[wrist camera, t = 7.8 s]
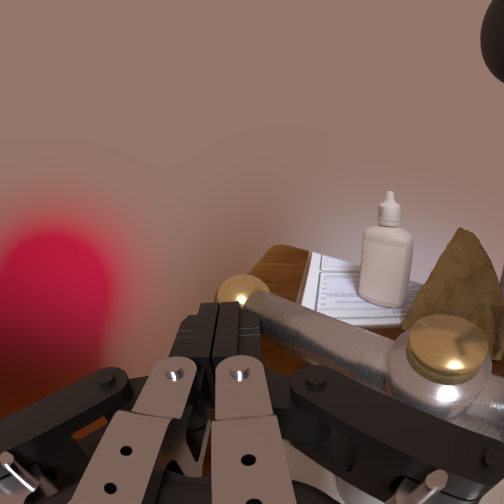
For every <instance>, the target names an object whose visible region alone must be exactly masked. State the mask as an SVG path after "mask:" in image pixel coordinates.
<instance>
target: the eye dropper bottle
mask: <svg viewBox="0 0 504 504" xmlns="http://www.w3.org/2000/svg"><path fill="white" fill-rule="evenodd" d="M400 217H401V206H400V205H398V204H397V203H396V202H395V199H394V193H393V192H392V191H387V193H386V198H385V201H384V202H383V203H381V204H379V206H378V223H379V225H376V226H372V227H370V228H368V229H367V230H366V231H365V232H364V234H363V241H362V255H361V268H360V280H359V292H358V293H359V296H360V297H361V298H363V299H364V300H366V301H368V302H370V303H373V304H376V305H379V306H383V307H389V308H399V307H400V306H401V305H402V304H403V303H404V302H405V300H406V296H407V290H408V284H409V278H410V271H411V263H412V254H413V237H412V236H411V234H410V233H408V232H407V231H406V230H404V229H402V228H400V227H399V225H400V219H401V218H400Z"/></svg>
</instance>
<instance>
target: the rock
mask: <svg viewBox="0 0 504 504" xmlns="http://www.w3.org/2000/svg"><path fill="white" fill-rule="evenodd" d="M436 314H445V315H452V316H457V317H460V318H463V319H465V320H468V321H470V322H471V323H473V324H475V325H476V326H477V327H478V328H480V329H481V330H482V332H483V333H484V334H485V336H486V338H487V340H488V352H489V354H490V356H491V359H492V360H498V361H500V360H501V359H502V356H503V354H504V296H503V292H502V289H501V286H500V284H499V281H498V278H497V275H496V273H495V270H494V267H493V265H492V262H491V260H490V258H489V257H488V255H487V253H486V251H485V250H484V248H483V247H482V245H481V244H480V241H479V239H478V238H477V237H476V236H475V235H474V234H473V233H472V232H470V231H468V230H464V229H463V228H458V229H457V231H456V233H455V235H454V237H453V238H452V240H451V241H450V242H449V244H448V245H447V247H446V249H445V251H444V252H443V253H442V254H441V256H440V258H439V260H438V261H437V264H436V265H435V267H434V269H433V271H432V272H431V274H430V276H429V278H428V280H427V281H426V282H425V284H424V286H423V287H422V288H421V289H420V290H419V292H418V294H417V296H416V298H415V300H414V303H413V305H412V307H411V309H410V310H409V312H408V313H407V315H406V319H405V320H404V322H403V323H402V325H401V329H402V330H404V331H406V330H408V329H410V328H412V326H413V325H414V323H415V322H416V321H418V320H419V319H421V318H423V317H426V316H430V315H436Z"/></svg>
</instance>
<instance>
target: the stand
mask: <svg viewBox="0 0 504 504" xmlns="http://www.w3.org/2000/svg"><path fill="white" fill-rule="evenodd" d="M282 442H283V447H284V451H285V455H286V460H287V464H288V468H289V473H290V477H291V480H296V481H299V482H303V483H306V484H308V485H311V486H313V487H316V488H317V489H319V490H321V491H323V492H325V493H326V494H328V495H329V496H331V497H332V498H333V499H335V500H336V501H338V502H339V503H341V504H384V502H382V501H380V500H378V499H376V498H374V497H372V496H370V495H368V494H367V493H365V492H363V491H361V490H359V489H358V488H356V487H354V486H352V485H351V484H349V483H347V482H346V481H344V480H342V479H341V478H339V477H338V476H336V475H334V474H333V473H331V472H330V471H328V470H327V469H325V468H324V467H322V466H321V465H319V464H318V463H316V462H315V461H313V460H312V459H310V458H309V457H307V456H306V455H304V454H303V453H302V452H300V451H299V450H297V449H296V448H295V447H293V446H292V445H291V443H290V441H289V440H285V439H282ZM479 504H504V479H503V480H502V481H500V482H499V483H498V484H497V485H496V486H495V487H494V488H492V489H491V490H490V491H489V492H488V493H487V494H485V495H484V496H483V497H482V498H481V500H480V502H479Z"/></svg>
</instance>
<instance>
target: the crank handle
mask: <svg viewBox="0 0 504 504" xmlns="http://www.w3.org/2000/svg"><path fill="white" fill-rule="evenodd" d="M231 301H239V302H240V311H241V313H250V312H253V313H254V314H255V315H256V316H257V317H258V318H259V324H260V336H261V338H263V339H265V340H267V341H269V342H270V343H272V344H274V345H276V346H278V347H279V348H281V349H283V350H285V351H287V352H289V353H290V354H292V355H294V356H296V357H298V358H300V359H302V360H304V361H306V362H307V363H309V364H311V365H323V366H327V367H330V368H332V369H334V370H336V371H338V372H340V373H342V374H344V375H346V376H348V377H350V378H352V379H354V380H356V381H358V382H360V383H362V384H364V385H366V386H368V387H370V388H372V389H374V390H376V391H378V392H380V393H383V394H385V395H387V396H389V397H391V398H393V399H396V400H398V401H400V402H402V403H404V404H407V405H409V406H411V407H414V408H416V409H418V410H421V411H423V412H425V413H428V414H430V415H432V416H435V417H437V418H440V419H442V420H445V421H447V422H450V423H452V424H455V425H458V426H460V427H463V428H465V429H468V430H471V431H474V432H476V433H479V434H482V435H485V436H488V437H491V438H494V439H497V440H499V441H502V442H503V443H504V377H502V376H499V375H495V374H492V373H491V372H492V360H491V356H490V354H489V352H488V340H487V338H486V336H485V334H484V333H483V332H482V330H481V329H480V328H478V327H477V326H476V325H475V324H473V323H471V322H470V321H468V320H465V319H463V318H460V317H457V316H452V315H445V314H436V315H430V316H426V317H423V318H421V319H419V320H418V321H416V322H415V323H414V325H413V326H412V328H410V329H408V330H406V331H405V332H403V333H402V334H401V335H399V336H398V338H397V339H396V340H395V341H394V340H391V339H389V338H386V337H383V336H380V335H378V334H375V333H372V332H369V331H367V330H364V329H361V328H359V327H356V326H353V325H351V324H348V323H346V322H343V321H340V320H338V319H335V318H332V317H330V316H327V315H325V314H322V313H320V312H317V311H315V310H312V309H309V308H307V307H304V306H302V305H299V304H297V303H294V302H292V301H289V300H287V299H284V298H282V297H279V296H277V295H275V294H272V293H270V290H269V288H268V287H267V286H266V284H265V283H264V282H263V281H261V280H260V279H258V278H257V277H254V276H252V275H247V274H239V275H235V276H232V277H230V278H228V279H226V280H225V281H224V282H223V283H222V284H221V285H220V286H219V288H218V289H217V291H216V294H215V297H214V302H220V305H221V302H231Z"/></svg>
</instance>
